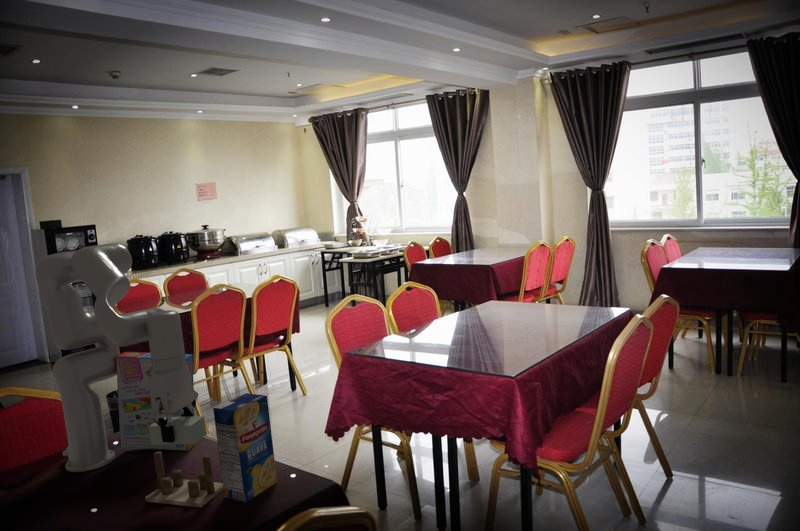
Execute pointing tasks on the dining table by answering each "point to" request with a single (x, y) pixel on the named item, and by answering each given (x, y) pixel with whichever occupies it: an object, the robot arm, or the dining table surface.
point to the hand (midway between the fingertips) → (179, 435)
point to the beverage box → (245, 446)
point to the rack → (184, 486)
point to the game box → (140, 401)
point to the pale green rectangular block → (181, 430)
